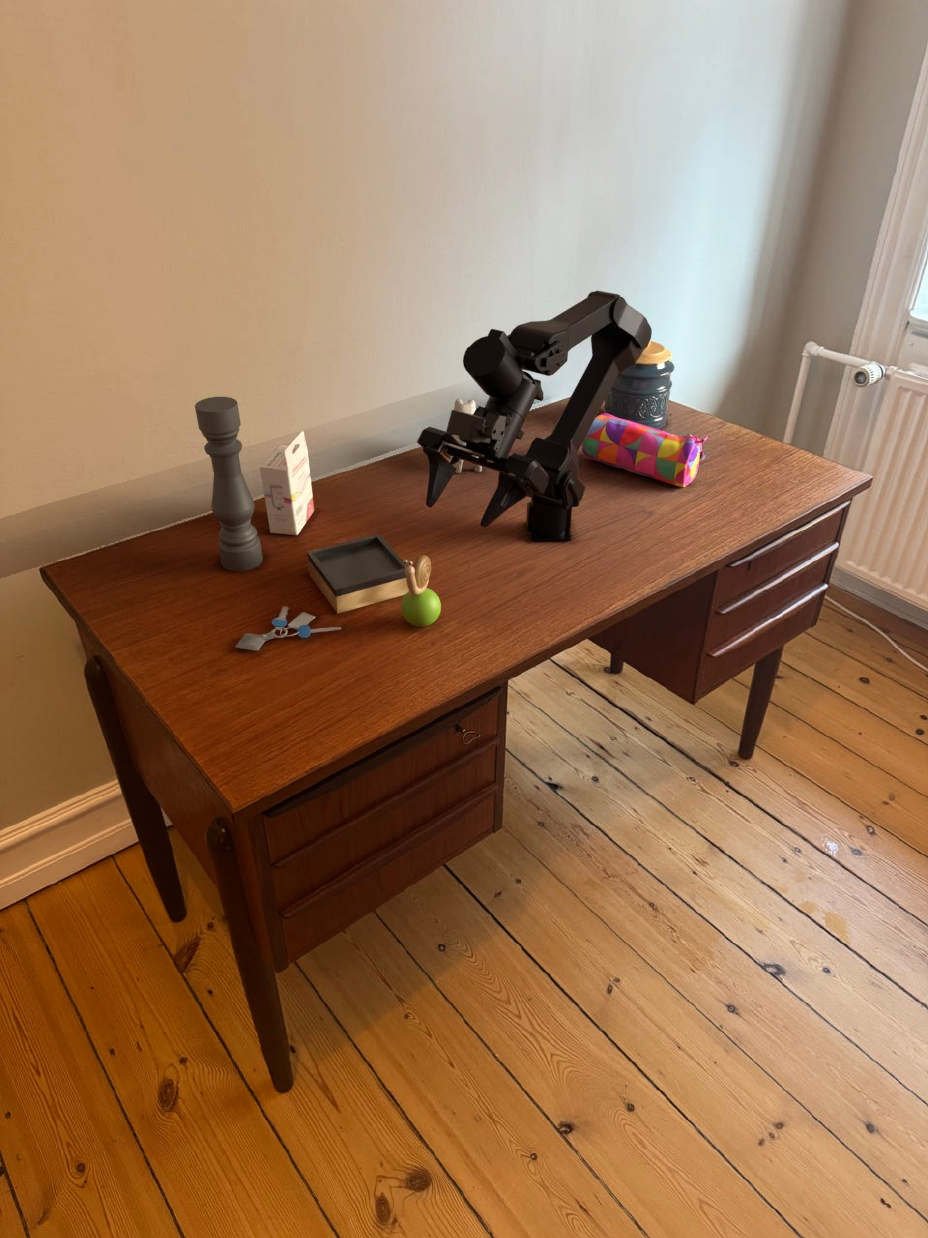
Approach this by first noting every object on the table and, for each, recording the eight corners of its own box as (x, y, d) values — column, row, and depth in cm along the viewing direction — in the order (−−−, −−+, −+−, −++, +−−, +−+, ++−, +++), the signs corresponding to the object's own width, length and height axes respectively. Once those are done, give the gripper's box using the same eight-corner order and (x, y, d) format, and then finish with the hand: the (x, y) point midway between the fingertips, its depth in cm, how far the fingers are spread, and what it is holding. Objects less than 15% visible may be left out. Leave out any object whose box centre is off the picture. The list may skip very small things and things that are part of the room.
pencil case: (707, 475, 158) (715, 428, 153) (688, 495, 152) (696, 447, 147) (597, 448, 168) (601, 403, 163) (575, 466, 161) (579, 420, 156)
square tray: (380, 556, 135) (379, 533, 133) (412, 592, 127) (411, 569, 125) (309, 574, 131) (306, 551, 128) (337, 613, 122) (335, 590, 120)
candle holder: (242, 575, 131) (216, 416, 116) (212, 564, 133) (183, 406, 119) (271, 557, 135) (248, 401, 120) (241, 546, 137) (216, 392, 123)
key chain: (239, 657, 114) (238, 652, 114) (226, 623, 120) (225, 618, 120) (342, 632, 119) (341, 627, 118) (325, 601, 125) (324, 596, 124)
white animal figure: (474, 445, 169) (475, 392, 163) (485, 474, 159) (486, 418, 153) (447, 447, 168) (446, 393, 162) (456, 476, 158) (456, 419, 152)
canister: (600, 432, 174) (609, 343, 164) (603, 407, 185) (611, 323, 175) (667, 436, 173) (679, 347, 163) (665, 411, 183) (677, 326, 173)
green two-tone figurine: (392, 633, 119) (387, 557, 112) (411, 608, 124) (408, 534, 117) (428, 642, 117) (426, 566, 110) (447, 616, 122) (446, 542, 115)
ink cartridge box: (287, 508, 148) (276, 426, 139) (315, 511, 147) (306, 428, 138) (268, 533, 141) (255, 448, 132) (297, 536, 140) (286, 451, 132)
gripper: (423, 368, 116) (372, 473, 115) (541, 400, 107) (486, 515, 106) (460, 407, 126) (412, 504, 125) (571, 440, 117) (520, 545, 116)
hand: (454, 516), depth 118 cm, fingers open, 9 cm apart
